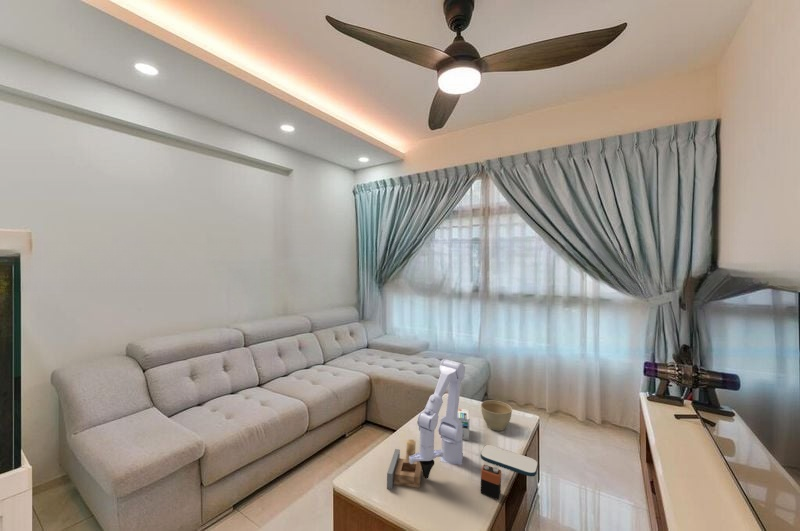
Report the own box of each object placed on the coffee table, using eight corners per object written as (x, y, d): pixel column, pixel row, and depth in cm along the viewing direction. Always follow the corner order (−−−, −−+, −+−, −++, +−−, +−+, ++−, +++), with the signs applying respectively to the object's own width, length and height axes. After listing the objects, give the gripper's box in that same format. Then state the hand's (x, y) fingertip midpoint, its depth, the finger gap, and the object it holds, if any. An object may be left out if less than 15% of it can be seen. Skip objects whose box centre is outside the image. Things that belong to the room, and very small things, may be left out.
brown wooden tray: (422, 471, 130) (422, 461, 130) (419, 488, 121) (419, 477, 121) (398, 467, 132) (399, 458, 132) (394, 483, 122) (394, 473, 122)
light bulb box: (469, 440, 155) (469, 419, 155) (455, 438, 156) (456, 417, 156) (468, 429, 165) (469, 409, 165) (455, 427, 167) (456, 407, 167)
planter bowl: (514, 424, 172) (515, 405, 172) (507, 438, 158) (507, 416, 158) (485, 416, 181) (486, 397, 180) (476, 428, 167) (477, 408, 167)
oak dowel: (415, 457, 140) (416, 440, 140) (414, 463, 136) (414, 445, 136) (406, 456, 141) (407, 439, 141) (405, 462, 137) (405, 444, 137)
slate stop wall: (399, 464, 135) (399, 449, 135) (391, 490, 120) (392, 474, 119) (394, 463, 136) (395, 448, 136) (386, 489, 120) (387, 473, 120)
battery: (498, 500, 116) (499, 473, 116) (480, 493, 119) (481, 467, 119) (500, 493, 120) (501, 467, 120) (483, 486, 123) (483, 461, 123)
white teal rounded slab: (478, 460, 141) (478, 455, 141) (485, 447, 151) (485, 443, 151) (535, 479, 129) (535, 475, 129) (538, 464, 139) (538, 460, 138)
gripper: (438, 435, 131) (437, 467, 132) (406, 441, 126) (405, 474, 126) (446, 444, 125) (445, 477, 125) (413, 451, 120) (412, 486, 120)
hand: (425, 477), depth 125 cm, fingers closed
